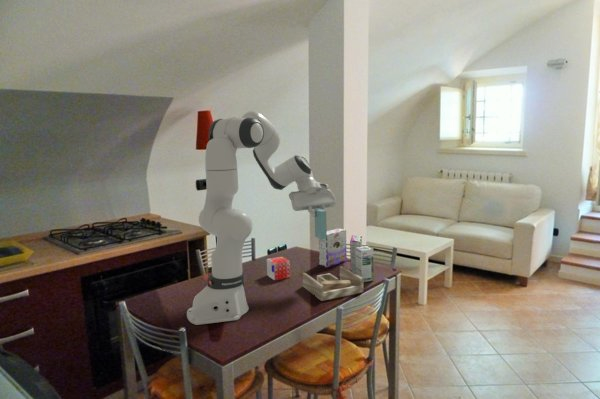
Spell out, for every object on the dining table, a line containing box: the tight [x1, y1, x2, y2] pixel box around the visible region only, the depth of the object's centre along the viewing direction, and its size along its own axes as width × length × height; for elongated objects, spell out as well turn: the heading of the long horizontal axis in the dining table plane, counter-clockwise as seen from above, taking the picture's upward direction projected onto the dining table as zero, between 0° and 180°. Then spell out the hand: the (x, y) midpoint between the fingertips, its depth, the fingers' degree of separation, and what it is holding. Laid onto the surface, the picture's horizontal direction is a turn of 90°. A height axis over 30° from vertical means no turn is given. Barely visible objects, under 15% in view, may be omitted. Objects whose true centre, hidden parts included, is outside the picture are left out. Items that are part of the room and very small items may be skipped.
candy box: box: [318, 227, 348, 268], centre depth 208 cm, size 14×6×16 cm, turn 130°
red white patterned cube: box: [266, 256, 291, 281], centre depth 192 cm, size 8×8×8 cm
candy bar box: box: [349, 234, 363, 274], centre depth 194 cm, size 11×5×16 cm, turn 168°
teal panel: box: [314, 208, 328, 240], centre depth 180 cm, size 2×6×12 cm, turn 24°
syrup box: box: [356, 245, 374, 283], centre depth 185 cm, size 6×6×14 cm
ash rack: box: [302, 266, 364, 302], centre depth 175 cm, size 19×17×6 cm
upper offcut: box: [321, 279, 351, 290], centre depth 172 cm, size 12×4×2 cm, turn 91°
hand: (319, 215), depth 180 cm, fingers closed on teal panel, 2 cm apart
